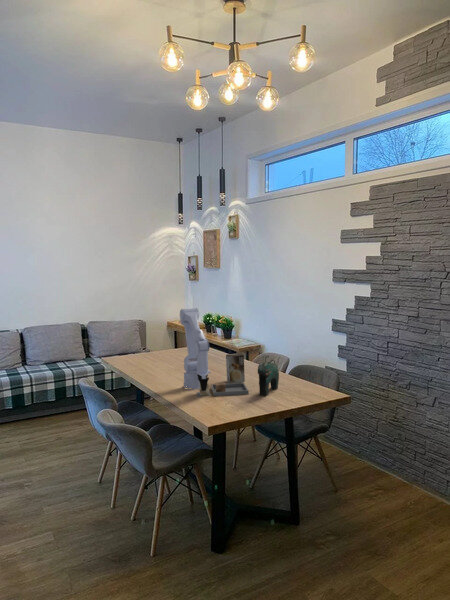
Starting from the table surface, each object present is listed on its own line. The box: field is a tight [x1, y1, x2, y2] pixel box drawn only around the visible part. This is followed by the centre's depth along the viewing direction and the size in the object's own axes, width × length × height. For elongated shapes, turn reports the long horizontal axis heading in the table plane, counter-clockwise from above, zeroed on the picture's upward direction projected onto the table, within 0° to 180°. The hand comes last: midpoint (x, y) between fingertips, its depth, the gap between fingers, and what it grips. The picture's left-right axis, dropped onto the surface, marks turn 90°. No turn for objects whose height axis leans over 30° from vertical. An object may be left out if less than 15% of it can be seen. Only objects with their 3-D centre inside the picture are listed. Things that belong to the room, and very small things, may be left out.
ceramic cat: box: [257, 355, 280, 397], centre depth 231 cm, size 20×6×20 cm, turn 151°
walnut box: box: [215, 382, 226, 392], centre depth 231 cm, size 4×4×5 cm
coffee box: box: [225, 352, 246, 384], centre depth 254 cm, size 9×6×16 cm
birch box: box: [199, 381, 210, 396], centre depth 230 cm, size 4×4×6 cm
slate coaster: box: [196, 391, 212, 398], centre depth 230 cm, size 7×7×1 cm
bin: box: [211, 382, 250, 397], centre depth 235 cm, size 18×15×2 cm
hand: (203, 389), depth 230 cm, fingers open, 5 cm apart
